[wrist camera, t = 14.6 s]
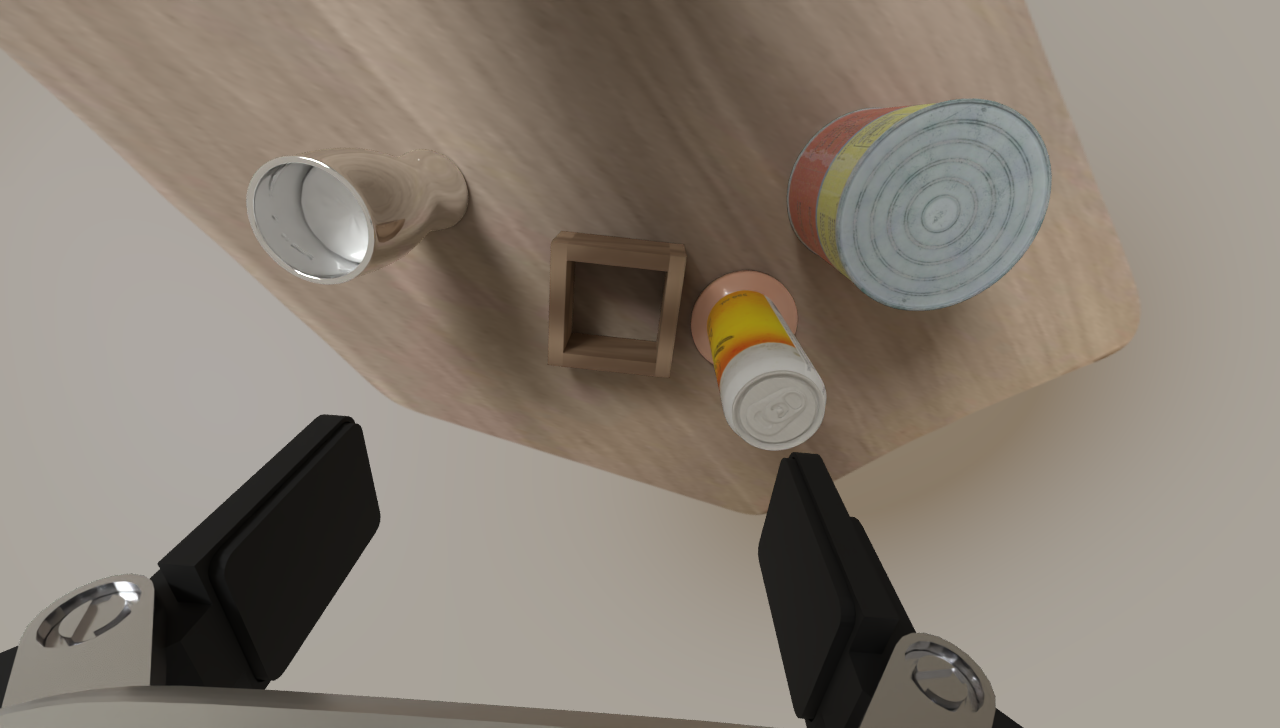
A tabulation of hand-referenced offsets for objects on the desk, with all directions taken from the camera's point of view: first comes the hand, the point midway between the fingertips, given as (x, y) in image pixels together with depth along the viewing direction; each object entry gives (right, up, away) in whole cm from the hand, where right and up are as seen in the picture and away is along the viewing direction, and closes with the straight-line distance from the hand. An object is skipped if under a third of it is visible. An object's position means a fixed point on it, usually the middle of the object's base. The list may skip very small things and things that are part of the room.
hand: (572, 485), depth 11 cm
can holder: (0, +9, +31) cm, 32 cm away
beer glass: (-15, +17, +28) cm, 36 cm away
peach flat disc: (+10, +6, +32) cm, 34 cm away
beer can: (+10, +6, +31) cm, 33 cm away
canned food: (+19, +16, +27) cm, 37 cm away
